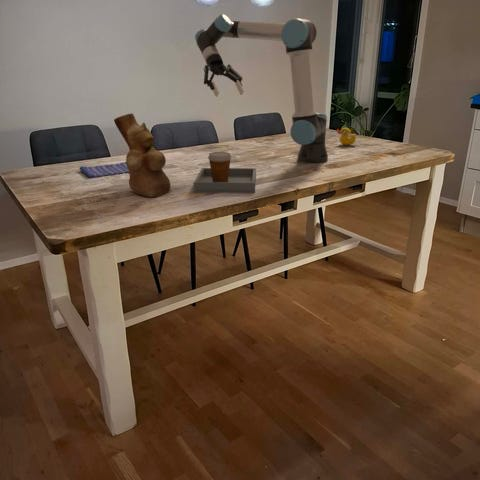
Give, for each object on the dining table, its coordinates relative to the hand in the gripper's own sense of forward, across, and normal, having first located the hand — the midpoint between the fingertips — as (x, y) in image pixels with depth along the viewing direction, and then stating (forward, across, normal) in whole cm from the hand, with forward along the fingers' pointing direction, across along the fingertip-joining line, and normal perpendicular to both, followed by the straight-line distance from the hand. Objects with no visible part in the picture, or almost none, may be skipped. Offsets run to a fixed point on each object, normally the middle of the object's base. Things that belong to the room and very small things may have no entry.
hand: (230, 93), depth 212 cm
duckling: (+22, -81, -26) cm, 87 cm away
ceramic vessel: (+38, +53, -9) cm, 66 cm away
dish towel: (+9, +55, -38) cm, 67 cm away
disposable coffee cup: (+44, +24, -2) cm, 50 cm away
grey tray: (+45, +21, -2) cm, 49 cm away
